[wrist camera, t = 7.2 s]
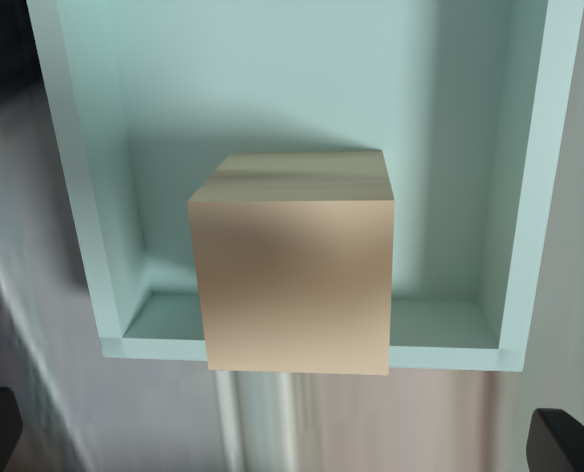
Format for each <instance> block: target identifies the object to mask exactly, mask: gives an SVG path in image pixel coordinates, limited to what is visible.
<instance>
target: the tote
mask: <svg viewBox="0 0 584 472" xmlns="http://www.w3.org/2000/svg"><path fill="white" fill-rule="evenodd" d="M26 1H27V5H28V10H29V15H30V19H31V24H32V29H33V33H34V38H35V42H36V47H37V52H38V56H39V61H40V66H41V70H42V75H43V80H44V84H45V89H46V93H47V98H48V103H49V107H50V112H51V117H52V121H53V126H54V130H55V135H56V140H57V144H58V149H59V154H60V158H61V163H62V167H63V172H64V177H65V181H66V186H67V191H68V195H69V200H70V205H71V209H72V214H73V218H74V223H75V228H76V232H77V237H78V242H79V246H80V251H81V255H82V260H83V265H84V269H85V274H86V279H87V283H88V288H89V292H90V297H91V302H92V306H93V311H94V316H95V320H96V325H97V329H98V334H99V339H100V343H101V348H102V353H103V357H110V358H140V359H169V360H198V361H207V353H206V346H205V338H204V330H203V322H202V315H201V307H200V299H199V292H198V284H197V276H196V269H195V261H194V253H193V245H192V238H191V230H190V222H189V215H188V207H187V201H188V200H189V199H190V198H191V197H192V196H193V195H194V193H195V192H196V191H197V190H198V189H199V188H200V187H201V186H202V184H203V183H204V182H205V181H206V180H207V179H208V178H209V177H210V176H211V174H212V173H213V172H214V171H215V170H216V169H217V168H218V167H219V165H220V164H221V163H222V162H223V161H224V160H225V159H226V158H227V156H228V155H229V154H230V153H260V152H314V151H367V150H382V151H383V155H384V159H385V163H386V167H387V171H388V176H389V180H390V184H391V188H392V192H393V196H394V200H395V205H394V233H393V261H392V289H391V317H390V345H389V367H403V368H432V369H461V370H490V371H519V372H522V370H523V364H524V358H525V352H526V346H527V340H528V334H529V328H530V322H531V316H532V311H533V305H534V299H535V293H536V287H537V281H538V275H539V269H540V263H541V257H542V251H543V245H544V239H545V233H546V227H547V221H548V215H549V209H550V203H551V197H552V191H553V185H554V179H555V174H556V168H557V162H558V156H559V150H560V144H561V138H562V132H563V126H564V120H565V114H566V108H567V102H568V96H569V90H570V84H571V78H572V72H573V66H574V60H575V54H576V48H577V43H578V37H579V31H580V25H581V19H582V13H583V7H584V0H26Z"/></svg>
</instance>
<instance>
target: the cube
mask: <svg viewBox="0 0 584 472" xmlns="http://www.w3.org/2000/svg"><path fill="white" fill-rule="evenodd" d="M394 205H395V200H394V196H393V192H392V188H391V184H390V180H389V176H388V171H387V167H386V163H385V159H384V155H383V151H382V150H367V151H314V152H260V153H230V154H229V155H228V156H227V158H226V159H225V160H224V161H223V162H222V163H221V164H220V165H219V167H218V168H217V169H216V170H215V171H214V172H213V173H212V174H211V176H210V177H209V178H208V179H207V180H206V181H205V182H204V183H203V184H202V186H201V187H200V188H199V189H198V190H197V191H196V192H195V193H194V195H193V196H192V197H191V198H190V199H189V200H188V201H187V207H188V215H189V222H190V230H191V238H192V245H193V253H194V261H195V269H196V276H197V284H198V292H199V299H200V307H201V315H202V322H203V330H204V338H205V346H206V353H207V361H208V369H209V370H232V371H265V372H298V373H331V374H364V375H388V373H389V345H390V317H391V289H392V261H393V233H394Z"/></svg>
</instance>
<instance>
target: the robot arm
mask: <svg viewBox="0 0 584 472" xmlns="http://www.w3.org/2000/svg"><path fill="white" fill-rule="evenodd" d="M22 431H23V419H22V416H21V412H20V409H19V406H18V403H17V400H16V396H15V393H14V391H13V390H12V389H11V388H10V387H8V386H0V472H4V470H5V468H6V466H7V464H8V462H9V460H10V458H11V455H12V453H13V451H14V449H15V447H16V445H17V443H18V441H19V439H20V437H21V434H22ZM526 457H527V462H528V467H529V471H530V472H584V426H583V425H582V424H581V423H580V422H578V421H577V420H576V419H575V418H573V417H572V416H571V415H569V414H568V413H567V412H565V411H564V410H562V409H553V408H537V409H536V410H534V412H533V414H532V419H531V424H530V429H529V435H528V440H527V445H526Z"/></svg>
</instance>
